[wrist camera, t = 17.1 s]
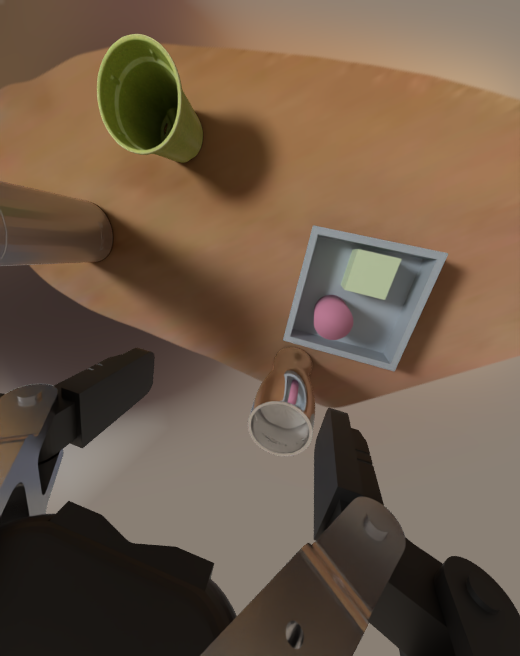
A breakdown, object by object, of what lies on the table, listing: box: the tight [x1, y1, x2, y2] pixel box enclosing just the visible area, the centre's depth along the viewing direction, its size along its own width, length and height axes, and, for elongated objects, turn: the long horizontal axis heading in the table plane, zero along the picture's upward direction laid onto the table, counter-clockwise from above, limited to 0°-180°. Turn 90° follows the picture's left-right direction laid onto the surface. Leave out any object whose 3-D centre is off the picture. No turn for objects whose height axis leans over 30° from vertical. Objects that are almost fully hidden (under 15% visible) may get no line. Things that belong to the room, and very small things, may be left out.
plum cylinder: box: [314, 295, 353, 340], centre depth 31 cm, size 4×4×6 cm
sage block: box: [341, 249, 402, 300], centre depth 29 cm, size 5×5×5 cm
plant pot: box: [97, 34, 203, 163], centre depth 28 cm, size 9×9×9 cm
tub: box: [283, 226, 448, 371], centre depth 31 cm, size 15×15×4 cm
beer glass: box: [248, 347, 315, 456], centre depth 31 cm, size 7×7×15 cm
